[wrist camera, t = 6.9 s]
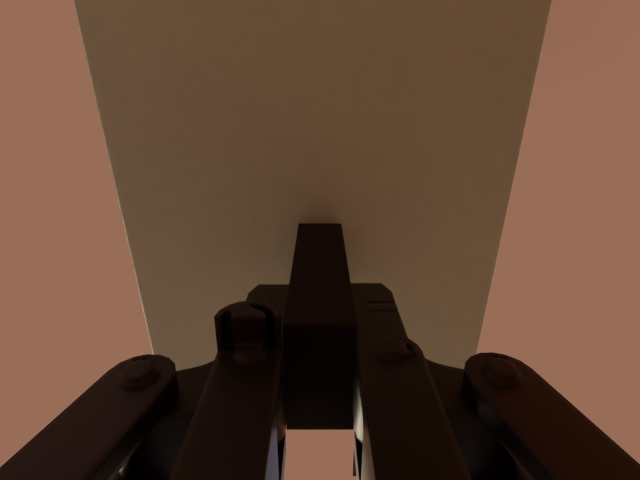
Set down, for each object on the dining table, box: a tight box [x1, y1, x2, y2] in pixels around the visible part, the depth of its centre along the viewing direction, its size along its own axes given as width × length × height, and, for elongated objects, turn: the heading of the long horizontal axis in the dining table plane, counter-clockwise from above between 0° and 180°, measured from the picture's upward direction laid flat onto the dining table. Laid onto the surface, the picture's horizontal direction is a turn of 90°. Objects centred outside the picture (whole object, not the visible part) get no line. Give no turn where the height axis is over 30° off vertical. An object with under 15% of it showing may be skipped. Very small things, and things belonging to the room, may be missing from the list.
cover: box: [73, 0, 552, 371], centre depth 15 cm, size 16×14×1 cm
